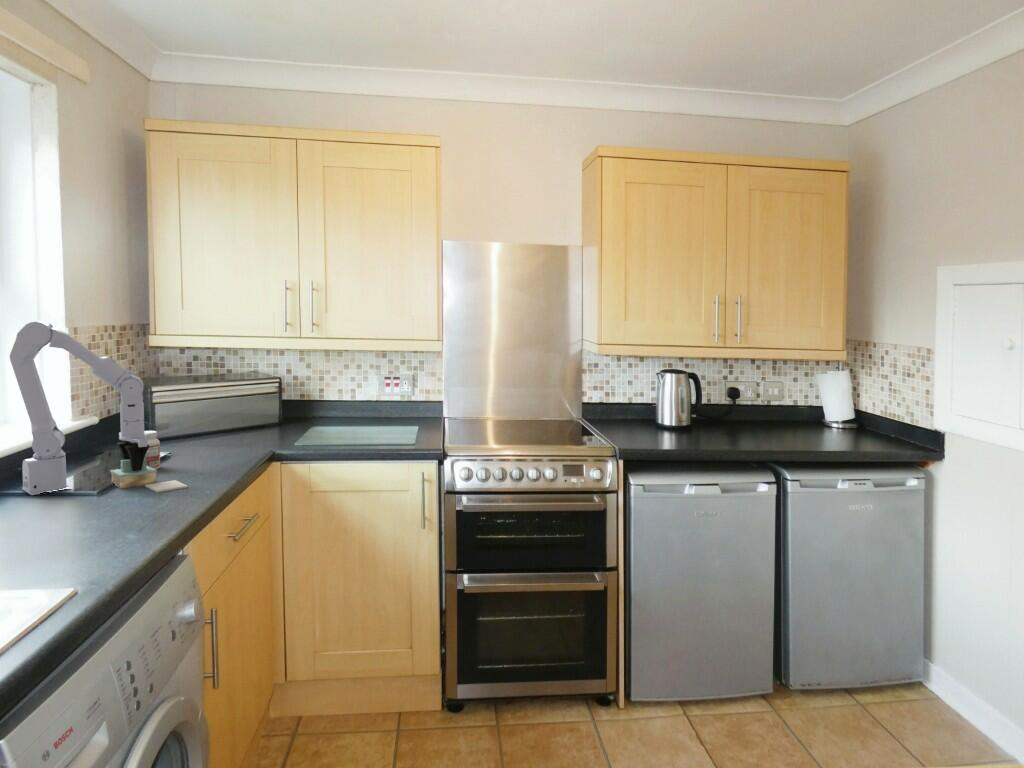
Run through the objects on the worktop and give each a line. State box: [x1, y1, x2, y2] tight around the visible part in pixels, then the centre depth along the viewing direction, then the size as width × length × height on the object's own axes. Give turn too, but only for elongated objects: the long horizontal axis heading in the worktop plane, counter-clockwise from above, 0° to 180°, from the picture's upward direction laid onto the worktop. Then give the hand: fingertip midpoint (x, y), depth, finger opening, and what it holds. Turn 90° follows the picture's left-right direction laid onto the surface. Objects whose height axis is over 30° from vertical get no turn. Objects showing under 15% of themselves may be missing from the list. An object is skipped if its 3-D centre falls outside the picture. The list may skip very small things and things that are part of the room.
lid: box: [109, 458, 158, 477], centre depth 201 cm, size 9×7×4 cm
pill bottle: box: [144, 430, 161, 470], centre depth 219 cm, size 6×6×11 cm
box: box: [111, 472, 157, 490], centre depth 202 cm, size 9×7×3 cm
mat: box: [144, 479, 189, 493], centre depth 200 cm, size 8×8×1 cm
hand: (133, 469), depth 202 cm, fingers open, 4 cm apart
